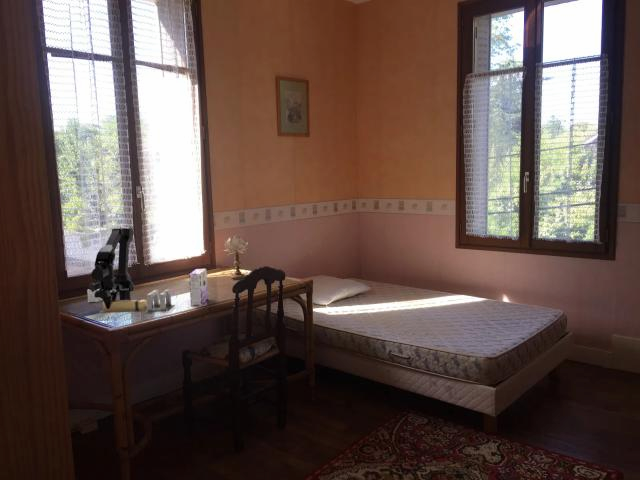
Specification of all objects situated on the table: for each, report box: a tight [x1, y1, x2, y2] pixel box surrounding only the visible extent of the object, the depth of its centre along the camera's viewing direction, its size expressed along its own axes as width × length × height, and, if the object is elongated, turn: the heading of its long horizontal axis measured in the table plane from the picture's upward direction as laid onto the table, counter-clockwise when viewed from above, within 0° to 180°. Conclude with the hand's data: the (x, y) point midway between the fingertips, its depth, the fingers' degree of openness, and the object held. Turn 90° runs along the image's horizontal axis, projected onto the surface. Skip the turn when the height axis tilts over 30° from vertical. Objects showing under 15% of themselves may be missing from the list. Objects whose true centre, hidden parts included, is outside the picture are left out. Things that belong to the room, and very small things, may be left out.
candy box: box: [188, 268, 209, 307], centre depth 273 cm, size 14×6×16 cm, turn 178°
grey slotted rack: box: [97, 288, 176, 314], centre depth 261 cm, size 12×34×9 cm, turn 89°
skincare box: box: [86, 288, 103, 304], centre depth 281 cm, size 6×6×7 cm
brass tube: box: [102, 299, 148, 311], centre depth 261 cm, size 4×20×4 cm, turn 88°
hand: (110, 307), depth 261 cm, fingers closed on brass tube, 4 cm apart
